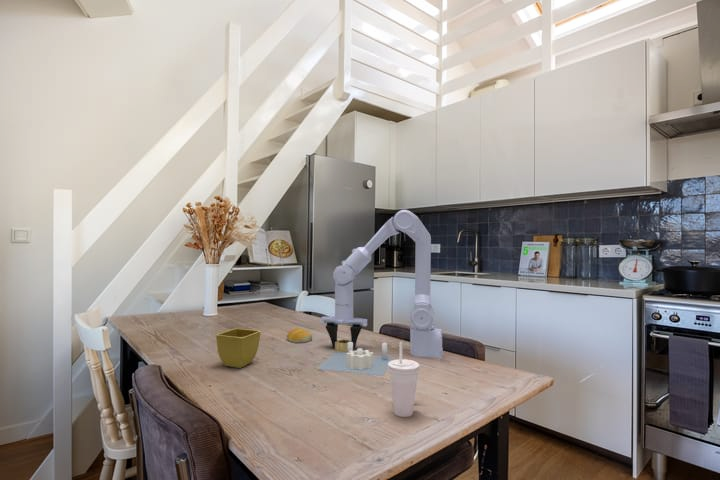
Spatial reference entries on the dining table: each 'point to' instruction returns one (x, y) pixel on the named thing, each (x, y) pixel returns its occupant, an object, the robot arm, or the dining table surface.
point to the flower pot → (238, 346)
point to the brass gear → (342, 345)
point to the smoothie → (403, 384)
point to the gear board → (340, 364)
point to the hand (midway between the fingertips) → (343, 348)
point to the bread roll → (299, 336)
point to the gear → (360, 360)
